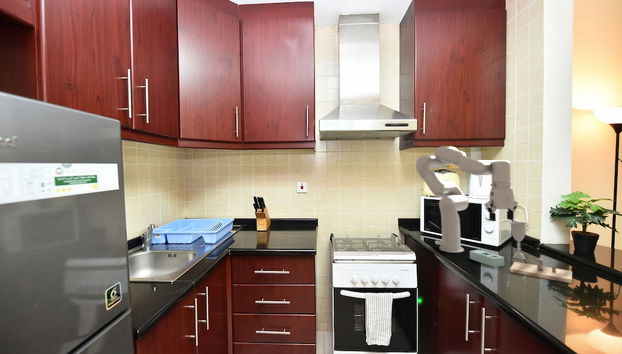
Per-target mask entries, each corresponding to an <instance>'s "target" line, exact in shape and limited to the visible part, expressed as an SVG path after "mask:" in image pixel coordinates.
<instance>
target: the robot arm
mask: <svg viewBox="0 0 622 354" xmlns="http://www.w3.org/2000/svg"><path fill="white" fill-rule="evenodd" d="M446 165H451V166H455V167H456V168H458V169H459V170H460V171H462V172H464V173H466V174H469V175H473V176H491V183H490V186H491V188H490V192H489V198H488V199H489V200H488V201H487V202H485V203H484V207H485V210H486V211H487V213H488V216H489V217H488V218H489V221H491V222H496V220H497V219H496V216H497V214H496V211H497V210H506V219H507V220H511V221H514V217H515V215H514V214H515V213H514V212H516V209H517V206H518V204H519V202H518V201H515V195H514V190H513V188H512V186H511V162H510V161H509V160H507V159H503V160H501V159H498V160H489V159H488V160H487V159H485V160H478V159H474V158H470V157H467V155H466V152H464V151H461V150H458V149H457V147H455V146H452V145H451V146H450V145H449V146H446V145H445V146H439V147H437V148H436V149H435V151H434V154H424V155H421V156H419V157H418V158H417V159H416V161H415V169H416V171H417V174H418V175H419V176H420V178H421V179H422V180H423V181H424V183H425V184H426V186H427V187H428V188H429V190H430V192H432V194H433V195H434V196H435V197H437V198H440V200H439V202H438V207H439V211H440V216H441V218H440V219H441V240H435V242H434V243H435V245H439V250H440V251H442V252H446V253H458V254H459V253H462V252H465V249H464V248H463V247H462V246H461V244H462V243H461V222H460V221H461V219H460V215H459V214H458V212H460V211H465V210H466V209H468V206H469V200H468V198H467V196H466V195H465V194H464V192H463V191H462V190H461V188H460V187H459V186H458V185H457V184H456V183H455V182H454V181H451V180H442V178H441V176H439V175H438V173H436V172H435V171H434V170H433V169H439V168H442V167H444V166H446Z"/></svg>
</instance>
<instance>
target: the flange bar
mask: <svg viewBox="0 0 622 354" xmlns="http://www.w3.org/2000/svg"><path fill="white" fill-rule="evenodd" d="M469 259H470V260H472V261H475V262H477V263H481V264H484V265H488V266H491V267H492V268H499V267H505V257H504V256H501V255H498V254H494V253H491V252H488V251H485V250H481V249H475V250H469Z"/></svg>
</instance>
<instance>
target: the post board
mask: <svg viewBox="0 0 622 354" xmlns="http://www.w3.org/2000/svg"><path fill="white" fill-rule="evenodd" d="M509 272H510V273H514V274H520V275H525V276H529V277H535V278H540V279H547V280H552V281H558V282H561V283H562V282H564V283H567V284H569V283H570V284H572V283H573V281H572V280H573V271H572V270H567V269H561V268H557V267H556V266H555V265H552V266H545V265H544V259H542V258H537V259H536V264H531V263H524V262H518V261H513V264H512V265H511V266H510V268H509Z"/></svg>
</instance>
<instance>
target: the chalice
mask: <svg viewBox="0 0 622 354" xmlns="http://www.w3.org/2000/svg"><path fill="white" fill-rule="evenodd" d="M509 224H510V233H511V235H512V237H513V238H514V240H515V241H517V242H516V246H517V247H516V249H517V252H515V253H514V255H513V257H512V258H513V259H517V260H525V259H526V257H525V255H524V254H523V253H522V252H521V250H522V248H521V241H523V239H524V238H525V236H526V234H527V231H526V230H527V224H528V223H527V222H525V221H524V222H522V221H510V222H509Z"/></svg>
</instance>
